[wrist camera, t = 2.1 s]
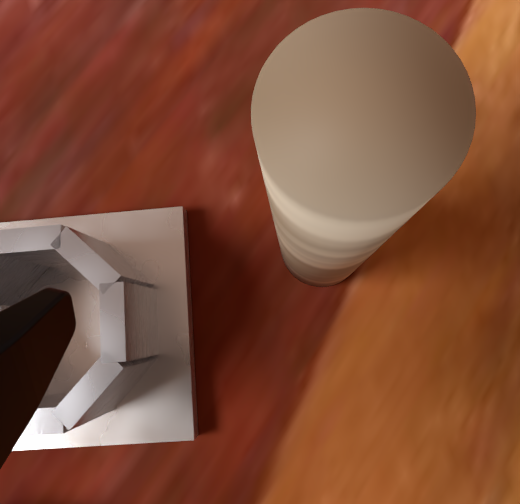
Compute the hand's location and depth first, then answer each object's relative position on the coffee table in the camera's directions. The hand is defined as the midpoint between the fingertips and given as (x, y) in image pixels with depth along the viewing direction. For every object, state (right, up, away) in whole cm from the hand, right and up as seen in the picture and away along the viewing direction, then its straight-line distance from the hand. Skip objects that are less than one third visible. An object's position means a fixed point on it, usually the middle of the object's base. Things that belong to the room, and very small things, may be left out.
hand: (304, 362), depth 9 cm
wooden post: (+2, +2, +11) cm, 11 cm away
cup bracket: (-8, -1, +11) cm, 14 cm away
